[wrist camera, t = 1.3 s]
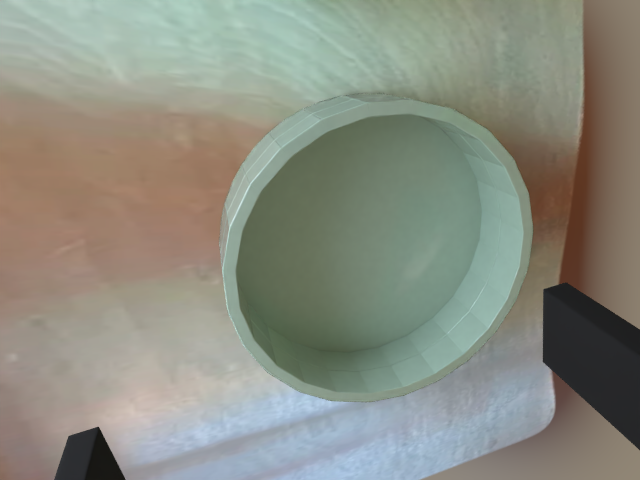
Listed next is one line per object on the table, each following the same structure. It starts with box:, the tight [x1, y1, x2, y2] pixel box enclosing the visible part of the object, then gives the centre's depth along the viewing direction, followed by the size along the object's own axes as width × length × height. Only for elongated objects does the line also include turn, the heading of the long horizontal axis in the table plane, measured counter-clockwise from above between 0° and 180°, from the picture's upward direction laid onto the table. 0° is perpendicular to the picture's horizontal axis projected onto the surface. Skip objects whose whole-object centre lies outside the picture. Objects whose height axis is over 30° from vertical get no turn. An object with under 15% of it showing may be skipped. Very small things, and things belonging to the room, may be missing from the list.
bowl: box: [219, 93, 533, 402], centre depth 33 cm, size 21×21×6 cm
